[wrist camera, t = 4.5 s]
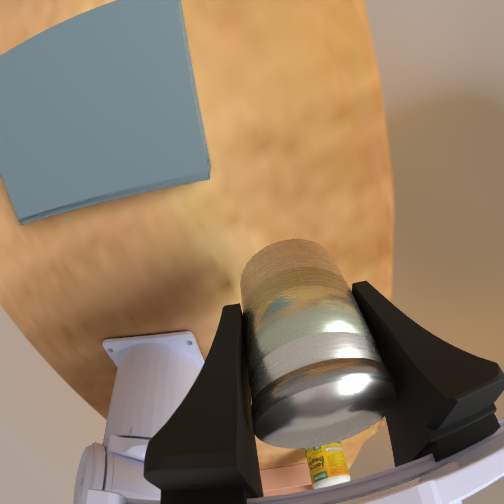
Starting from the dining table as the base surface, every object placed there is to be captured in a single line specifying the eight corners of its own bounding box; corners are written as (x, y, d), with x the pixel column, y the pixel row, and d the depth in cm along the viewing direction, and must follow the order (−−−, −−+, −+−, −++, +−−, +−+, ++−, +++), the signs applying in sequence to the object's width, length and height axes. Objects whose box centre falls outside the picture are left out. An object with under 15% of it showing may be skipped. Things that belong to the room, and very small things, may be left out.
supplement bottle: (327, 449, 42) (339, 502, 34) (298, 450, 40) (308, 506, 32) (347, 435, 39) (362, 492, 31) (316, 435, 38) (330, 497, 30)
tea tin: (337, 308, 16) (382, 430, 10) (247, 325, 16) (262, 456, 10) (339, 230, 13) (413, 361, 7) (230, 248, 13) (241, 398, 7)
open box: (319, 481, 54) (322, 497, 51) (240, 492, 54) (241, 508, 51) (323, 459, 45) (327, 479, 41) (223, 473, 45) (224, 493, 41)
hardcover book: (211, 164, 18) (209, 179, 15) (37, 207, 18) (20, 225, 16) (180, -6, 12) (173, -16, 10) (-3, 68, 12) (-26, 73, 10)
